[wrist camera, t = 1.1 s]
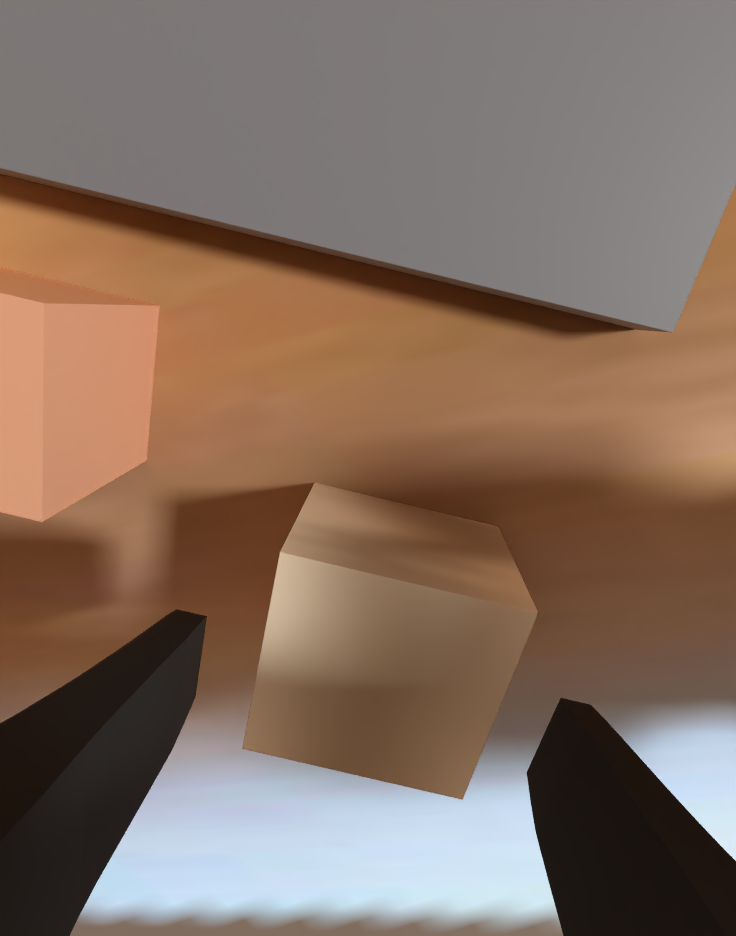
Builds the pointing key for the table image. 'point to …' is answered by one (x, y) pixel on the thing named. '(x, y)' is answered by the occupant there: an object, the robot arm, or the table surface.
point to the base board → (400, 132)
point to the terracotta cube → (70, 391)
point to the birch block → (388, 642)
